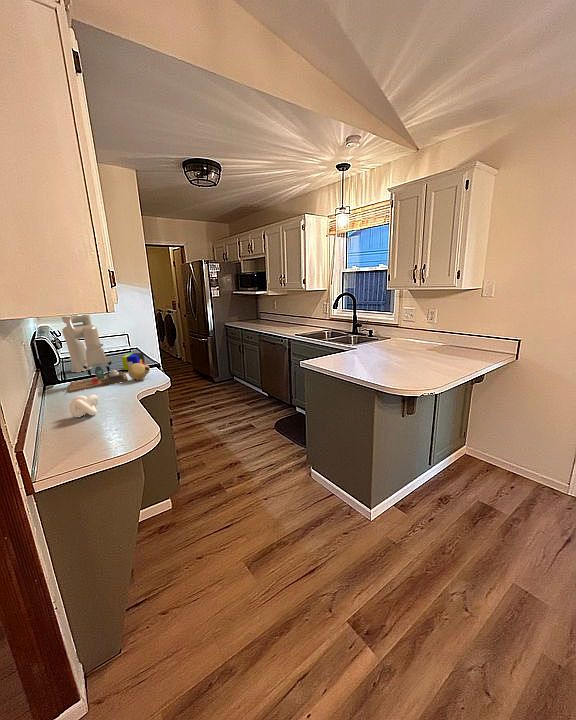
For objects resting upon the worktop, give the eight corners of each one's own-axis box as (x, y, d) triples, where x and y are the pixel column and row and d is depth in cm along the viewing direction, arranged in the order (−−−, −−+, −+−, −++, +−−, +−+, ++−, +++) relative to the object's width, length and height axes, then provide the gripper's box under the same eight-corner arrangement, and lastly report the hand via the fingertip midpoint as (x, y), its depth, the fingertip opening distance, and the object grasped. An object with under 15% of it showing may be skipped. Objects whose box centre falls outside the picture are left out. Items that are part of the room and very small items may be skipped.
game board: (71, 384, 195) (69, 377, 194) (125, 374, 210) (123, 367, 208) (69, 392, 180) (67, 385, 179) (128, 381, 195) (126, 374, 194)
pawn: (96, 378, 199) (93, 366, 196) (104, 376, 201) (101, 365, 199) (96, 380, 195) (93, 368, 193) (104, 378, 197) (102, 366, 195)
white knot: (66, 422, 142) (61, 403, 140) (77, 411, 154) (73, 394, 151) (93, 418, 144) (89, 400, 142) (103, 408, 156) (99, 391, 153)
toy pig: (152, 379, 195) (149, 363, 192) (130, 383, 190) (127, 366, 187) (150, 375, 203) (147, 359, 200) (129, 379, 198) (126, 362, 195)
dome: (109, 376, 195) (107, 369, 194) (119, 374, 198) (117, 367, 197) (109, 378, 191) (108, 371, 190) (120, 376, 193) (118, 369, 192)
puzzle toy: (138, 370, 216) (136, 356, 213) (124, 371, 216) (121, 357, 213) (145, 366, 225) (143, 352, 223) (131, 367, 226) (129, 353, 223)
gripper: (109, 343, 200) (114, 369, 204) (76, 348, 191) (83, 375, 196) (110, 345, 194) (115, 372, 198) (76, 350, 185) (83, 378, 190)
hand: (99, 373), depth 197 cm, fingers open, 9 cm apart
